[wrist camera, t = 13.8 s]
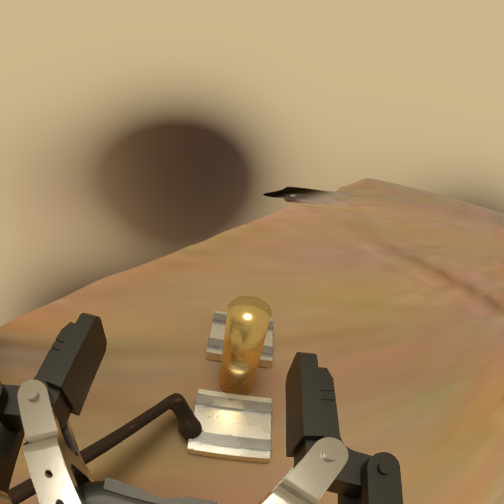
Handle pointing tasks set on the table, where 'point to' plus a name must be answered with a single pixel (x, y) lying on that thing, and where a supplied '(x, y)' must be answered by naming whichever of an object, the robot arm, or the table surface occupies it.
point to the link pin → (243, 343)
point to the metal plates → (233, 411)
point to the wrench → (175, 402)
